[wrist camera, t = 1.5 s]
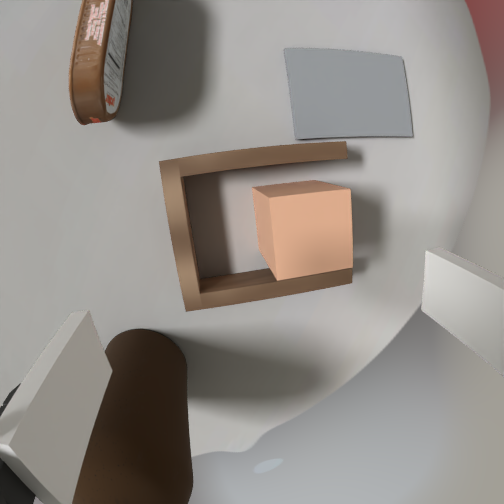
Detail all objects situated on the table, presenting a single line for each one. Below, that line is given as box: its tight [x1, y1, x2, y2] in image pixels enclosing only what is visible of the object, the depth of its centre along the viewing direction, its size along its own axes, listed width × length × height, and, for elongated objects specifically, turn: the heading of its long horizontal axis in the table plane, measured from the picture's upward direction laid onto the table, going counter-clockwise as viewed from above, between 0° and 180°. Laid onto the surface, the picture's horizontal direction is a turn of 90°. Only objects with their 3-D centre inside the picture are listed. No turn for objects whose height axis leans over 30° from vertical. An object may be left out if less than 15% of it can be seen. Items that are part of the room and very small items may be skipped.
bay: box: [159, 141, 352, 312], centre depth 28 cm, size 13×16×4 cm
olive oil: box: [72, 329, 193, 504], centre depth 21 cm, size 11×11×25 cm
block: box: [252, 180, 353, 281], centre depth 26 cm, size 6×6×8 cm
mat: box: [284, 48, 413, 140], centre depth 27 cm, size 9×13×1 cm
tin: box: [69, 0, 133, 125], centre depth 19 cm, size 15×3×8 cm, turn 178°
